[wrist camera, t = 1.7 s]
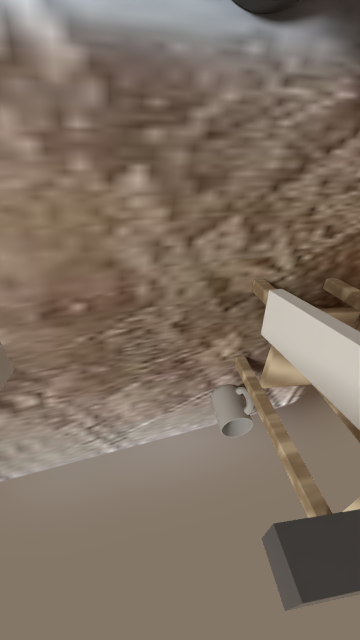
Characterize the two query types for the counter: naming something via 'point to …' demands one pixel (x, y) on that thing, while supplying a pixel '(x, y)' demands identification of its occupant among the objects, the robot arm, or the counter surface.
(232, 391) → the cup
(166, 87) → the counter surface
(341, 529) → the grey square bar
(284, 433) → the stand
